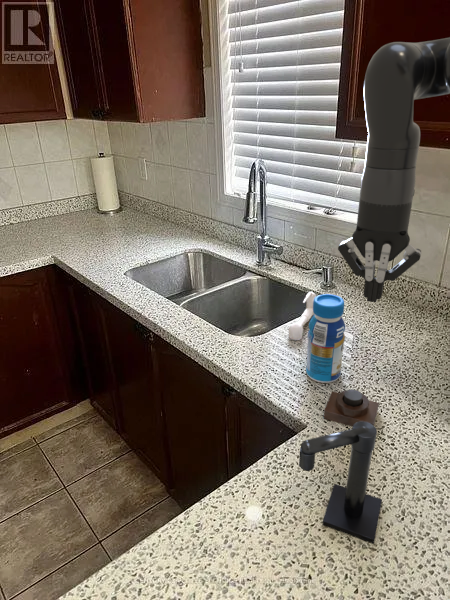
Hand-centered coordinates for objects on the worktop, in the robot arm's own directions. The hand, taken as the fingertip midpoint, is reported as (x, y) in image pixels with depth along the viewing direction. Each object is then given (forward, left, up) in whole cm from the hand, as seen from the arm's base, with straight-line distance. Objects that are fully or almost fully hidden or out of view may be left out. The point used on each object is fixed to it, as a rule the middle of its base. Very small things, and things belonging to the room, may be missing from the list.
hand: (372, 299), depth 74 cm
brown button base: (+2, -7, -31) cm, 32 cm away
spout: (0, +20, -17) cm, 26 cm away
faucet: (+22, -40, -31) cm, 55 cm away
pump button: (+2, -7, -27) cm, 28 cm away
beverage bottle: (+11, -19, -31) cm, 38 cm away
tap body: (-3, +17, -31) cm, 35 cm away
